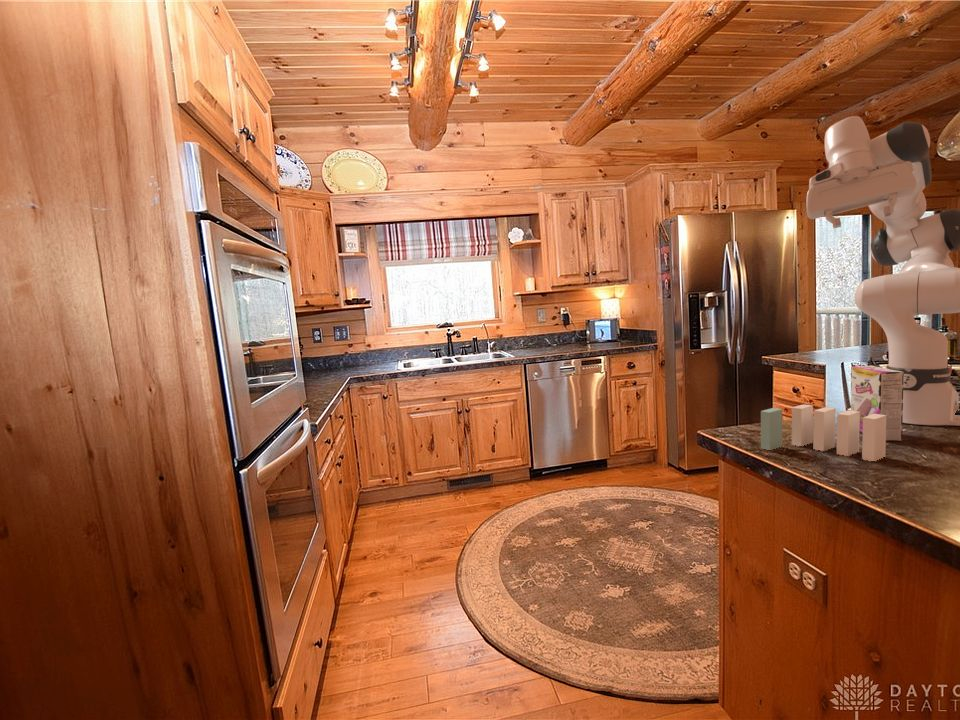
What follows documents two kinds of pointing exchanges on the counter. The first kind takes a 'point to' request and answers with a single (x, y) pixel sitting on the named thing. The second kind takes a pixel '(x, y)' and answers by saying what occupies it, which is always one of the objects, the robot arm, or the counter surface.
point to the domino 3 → (824, 429)
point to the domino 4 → (848, 432)
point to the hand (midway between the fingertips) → (862, 220)
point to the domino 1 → (771, 428)
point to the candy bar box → (878, 396)
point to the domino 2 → (802, 425)
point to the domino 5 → (874, 437)
